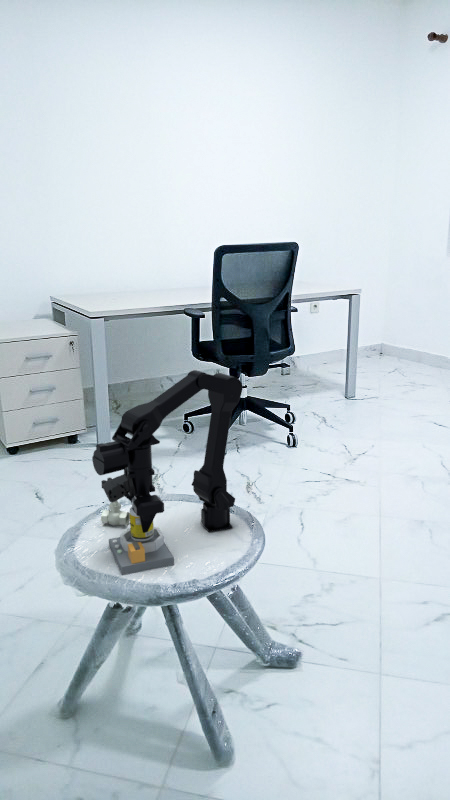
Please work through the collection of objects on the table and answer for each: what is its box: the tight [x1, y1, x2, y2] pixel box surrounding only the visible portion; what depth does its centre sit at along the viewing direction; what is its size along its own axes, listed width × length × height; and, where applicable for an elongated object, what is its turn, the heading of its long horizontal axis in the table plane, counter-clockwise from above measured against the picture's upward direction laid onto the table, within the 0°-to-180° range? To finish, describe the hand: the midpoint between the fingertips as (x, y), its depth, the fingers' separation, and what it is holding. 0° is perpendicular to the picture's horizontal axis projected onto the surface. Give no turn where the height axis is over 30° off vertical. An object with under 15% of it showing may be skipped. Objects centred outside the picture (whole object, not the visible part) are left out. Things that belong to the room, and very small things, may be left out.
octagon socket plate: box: [108, 526, 175, 576], centre depth 147 cm, size 12×14×4 cm
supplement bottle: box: [129, 497, 154, 541], centre depth 147 cm, size 5×5×10 cm
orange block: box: [128, 541, 145, 564], centre depth 141 cm, size 3×4×4 cm
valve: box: [100, 477, 130, 527], centre depth 161 cm, size 7×7×12 cm
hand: (142, 526), depth 148 cm, fingers closed on supplement bottle, 5 cm apart
